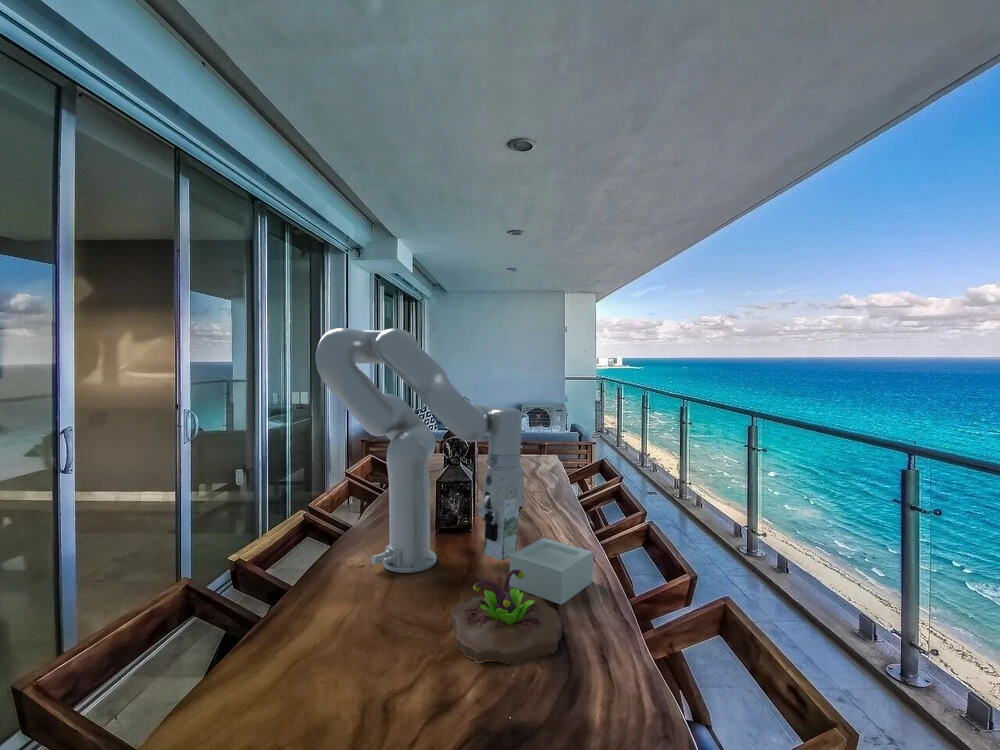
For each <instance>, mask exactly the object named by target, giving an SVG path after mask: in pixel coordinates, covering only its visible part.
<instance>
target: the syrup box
mask: <svg viewBox="0 0 1000 750" xmlns="http://www.w3.org/2000/svg"><path fill="white" fill-rule="evenodd" d="M515 501H516V498H513V499H509V500H508V499H507V500H504V510H503V512H502V513H498V516H497V520H496V523H495V524H497V541H491V540H489V539H487V538H486V537H485V535H486V522H484V541H483V555H485V556H487V557H490V558H492V559H496V560H498V561H501V562H502V561H504V560H507V559H510V555H511V554H513V553H515V552H517V551H518V550H517V549H518V533H519V517H520V512H519V507H518V508H515ZM491 509H492V508H491ZM486 510H487V509H486ZM492 515H493V512H491V515H490V516H491V517H492Z"/></svg>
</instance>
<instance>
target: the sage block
mask: <svg viewBox="0 0 1000 750" xmlns="http://www.w3.org/2000/svg"><path fill="white" fill-rule="evenodd" d="M515 569H516V570H517V569H518V570H521V571H523V572H524V577H523V578H522V579H519V578H517V577H516V575H515V574H512V575H511V578H510V581H509V587H511V588H516V587H517V588H518V589H519V591H522V592H526V593H527V594H531V595H532V596H535V597H540V598H541V599H543V600H544V599H545V600H547V601H548V602H549V601H550V602H552V603H556V604H558V605H561V606H562V605H564V604H565V603H566V602H567V601H569V600H570V599H572V598H573V597H575V595H577V594H579V593H580V592H582V591H583V590H584V589H585V588H586V587H588V586H589V585H591V584H592V583H594V582H593V581H594V575H593V574H594V551H592V550H588V549H585V548H582V547H578V546H574V545H570V544H567V543H562V542H559V541H556V540H552V539H549V538H545V537H542V538H540V539H539V540H536V541H534V542H533V543H530V544H528V545H527V546H525V547H522V548H521V549H519V550H517V552H515V553H513V554H511V555H510V557H509V573H510V572H511V570H515Z"/></svg>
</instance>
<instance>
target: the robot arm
mask: <svg viewBox="0 0 1000 750" xmlns="http://www.w3.org/2000/svg"><path fill="white" fill-rule="evenodd" d="M316 347H317V348H316V351H315V365H316V369H317V372H318V375H319V376H320V378H321V380H322V382H323V383H324V384H325V386H326V387H327V388H328V389H329V390H330V391H331V392H332V394H334V396H335V397H336V398H337V399H338V401H340V402H341V404H342V405H343V406H344V407H345V408H346V409H347V412H349V413H350V415H351V416H352V417H353V418H354V419H355V420H356V421H357V422H358V423H359V425H360V426H361V427H362V428H363V429H364V430H365V431H366V432H367V433H368V434H370V435H371V436H375V437H382V436H386V437H387V438H388V439H389V441H390V442H389V444H388V445H387V449H386V468H387V469H386V470H387V475H388V476H387V477H388V499H389V500H388V501H389V504H388V505H389V506H388V507H389V508H388V509H389V515H388V516H389V517H388V519H389V520H388V521H389V523H388V525H389V526H388V527H389V528H388V529H389V531H388V532H389V544H387V545H385V548H384V550H383V551H382V553H376V554H373V555H371V556H370V561H371V564H372V565H376V564H379V563H382V566H383V567H384V568H385V569H386V570H389V572H390V571H391V572H394V573H400V574H404V573H405V574H409V573H417V572H422V571H425V570H428V569H430V568H432V567H433V566H435V564H436V563H437V554H436V553H435V552H434V551H432V549H431V495H430V494H431V488H430V487H431V485H430V473H429V472H430V471H429V460H430V459H431V457H432V456H433V454H434V453H435V450H436V446H437V441H436V437H435V435H434V433H433V432H432V431H431V429H430V428H429V426H427V424H426V423H425V422H424V421H423V420H422V418H421V417H420V416H419V415H418V414H417V413H416V412H415V411H414V410H413V408H411V406H410V405H409V404H408V403H407V402H406V401H405V400H404V399H402V398H401V397H400V396H398V395H397V394H396V395H395V394H392V393H383V392H382V391H381V389H379V388H378V387H377V386H376V384H375V383H374V382H373V381H372V380H371V379H370V377H369V376H368V375H367V374H366V373H364V371H363V370H361V369H359V367H358V365H357V364H379V365H380V364H381V365H382V364H383V365H384V364H385V365H386V366H387V367H388V368H389V369H390V370H391V371H392V372H393V373H394V374H395V375H396V376H397V377H399V379H401V381H403V382H404V384H406V385H407V386H408V387H409V388H410V389H411V390H412V391H413V392H414V393H416V395H417V397H418V398H419V399H420V400H421V402H422V403H424V405H425V406H426V407H427V409H428V410H429V411H430V412H431V413H432V414H433V416H434V417H435V418H436V419H438V420H439V422H440V423H442V425H444V427H446V428H447V429H448V430H449V431H450V432H451V433H452V434H453V435H455V436H456V437H457V438H458V439H460V440H461V441H463V442H467V443H474V442H477V441H479V440H481V439H482V438H483V437H484V436H488V451H487V453H488V455H487V457H488V458H486V464H487V466H486V469H485V473H484V479H483V485H482V486H483V487H482V501H481V502H480V504H479V505H478V507H477V509H476V512H477V513H478V514H479V516H480V517H481V518H482V519H483V522H484V523H485V522H486V535H485V534H484V536H485V537H486V538H487V539H489V540H491V541H497V524H495V523H496V520H497V516H498V513H502V512H503V510H504V500H507V499H508V500H509V499H513V498H516V501H515V508H518V507H519V513H520V511H521V510H522V507H523V505H524V504H525V502H526V499H527V497H525V481H524V478H525V477H524V471H523V470H524V469H523V466H522V465H521V451H522V450H521V449H522V446H521V445H522V422H523V418H522V417H523V416H522V412H521V410H520V409H518V408H513V407H491V406H490V407H489V406H484V405H480V404H479V405H478V404H471V403H470V402H469V401H468V399H466V398H465V397H464V396H463V395H461V393H460V392H459V391H458V390H457V389H456V388H455V387H454V385H453V384H452V383H451V381H450V379H449V378H448V376H447V373H446V371H445V369H444V368H443V367H442V366H441V365H440V364H439V363H438V362H437V361H436V360H435V359H434V358H432V357H431V356H430V355H429V354H428V353H427V352H426V351H425V350H424V349H423V348H422V347H420V345H419V344H418V341H417V339H416V338H415V336H414V335H413V334H412V333H411V332H409V331H407V330H405V329H401V328H394V327H390V328H387V329H384V330H366V329H365V330H364V329H354V328H353V329H352V328H348V327H347V328H346V327H339V328H338V327H337V328H333V329H330V330H329V331H326V333H324V334H323V335H322V337H321V339H320V340H319V342H318V344H317V346H316ZM491 508H492V509H491ZM486 509H487V510H486ZM491 512H493V515H492V517H491V516H490V515H491Z"/></svg>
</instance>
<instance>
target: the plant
mask: <svg viewBox="0 0 1000 750" xmlns="http://www.w3.org/2000/svg"><path fill="white" fill-rule="evenodd" d="M512 574H515V575H516V577H517V578H519V579H522V578H523V577H524V572H523V571H521V570H518V569H517V570H516V569H515V570H511V572H510V571H509V573H508V574H507V576H506V577H505V580H503V583H504V584H503V589H501V588H499V586H498V585H497V584H496V583H495V582H493V581H491V580H486V579H484V580H481V581H478V582H475V583H474V585H473V587H472V588H473V590H474V591H475V592H479V591H480V589H481V585H482V584H483V585H488V586H490V587H491V589H492V590H493V591H494V592H493V591H491V590H490V591H489V590H487V589H485V590H484V596H473V597H472V598H471V599H470V600H468V601H466V602H458V603H456V604H455V605H454V606H453V607H452V609H451V611H450V625H451V624H452V625H451V627H452V626H453V627H452V629H453V628H454V629H453V631H454V630H455V631H454V632H456V633H455V635H456V637H455V648H456V647H457V648H458V649H460V650H461V651H462V653H464V654H465V655H466V656H470V657H472V658H474V659H475V660H476V661H478V662H481V661H485V660H496V661H499V662H502V663H508V665H513V664H512V663H514V662H517V663H519V662H518V661H522V662H524V661H523V660H526V661H529V660H532V659H531V658H533V659H536V658H535V657H537V658H540V657H539V656H541V657H544V656H543V655H545V656H547V655H546V654H549V655H551V654H550V653H552V652H555V651H556V650H558V646H559V642H558V641H560V640H561V639H562V636H563V635H562V633H563V631H562V630H563V628H562V626H563V625H562V620H561V618H560V615H559V613H558V611H557V609H555V608H553V607H551V606H549V605H548V604H547V603H546V602H545V601H544V599H543V598H541V597H538V596H536V595H529V594H528V595H527V594H524V591H522V592H520V590H519V589H518V588H517V587H516V588H514V587H512V589H510V578H511V575H512ZM556 652H557V651H556ZM556 652H555V653H556ZM462 653H461V654H462ZM552 654H553V653H552ZM528 659H529V660H528ZM502 663H501V664H502ZM510 663H511V664H510ZM514 664H515V663H514Z"/></svg>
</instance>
